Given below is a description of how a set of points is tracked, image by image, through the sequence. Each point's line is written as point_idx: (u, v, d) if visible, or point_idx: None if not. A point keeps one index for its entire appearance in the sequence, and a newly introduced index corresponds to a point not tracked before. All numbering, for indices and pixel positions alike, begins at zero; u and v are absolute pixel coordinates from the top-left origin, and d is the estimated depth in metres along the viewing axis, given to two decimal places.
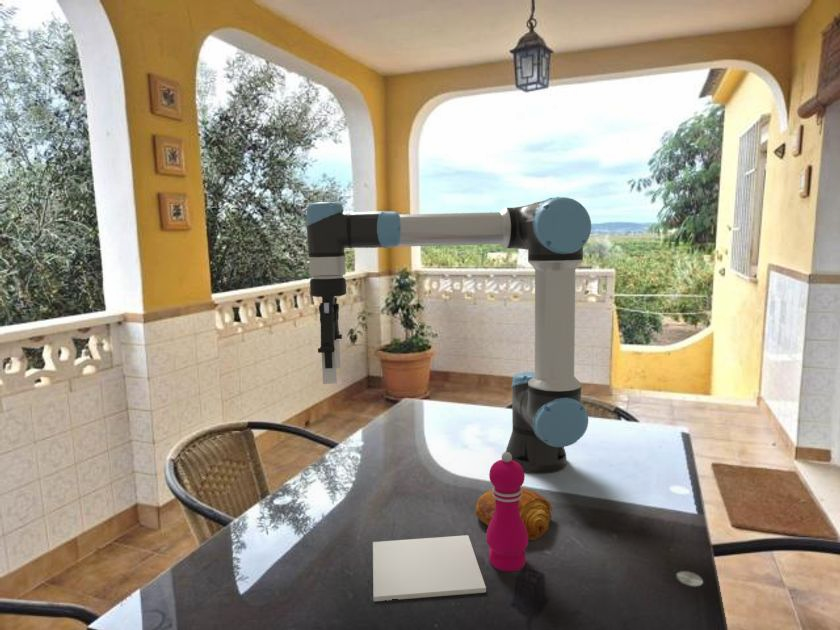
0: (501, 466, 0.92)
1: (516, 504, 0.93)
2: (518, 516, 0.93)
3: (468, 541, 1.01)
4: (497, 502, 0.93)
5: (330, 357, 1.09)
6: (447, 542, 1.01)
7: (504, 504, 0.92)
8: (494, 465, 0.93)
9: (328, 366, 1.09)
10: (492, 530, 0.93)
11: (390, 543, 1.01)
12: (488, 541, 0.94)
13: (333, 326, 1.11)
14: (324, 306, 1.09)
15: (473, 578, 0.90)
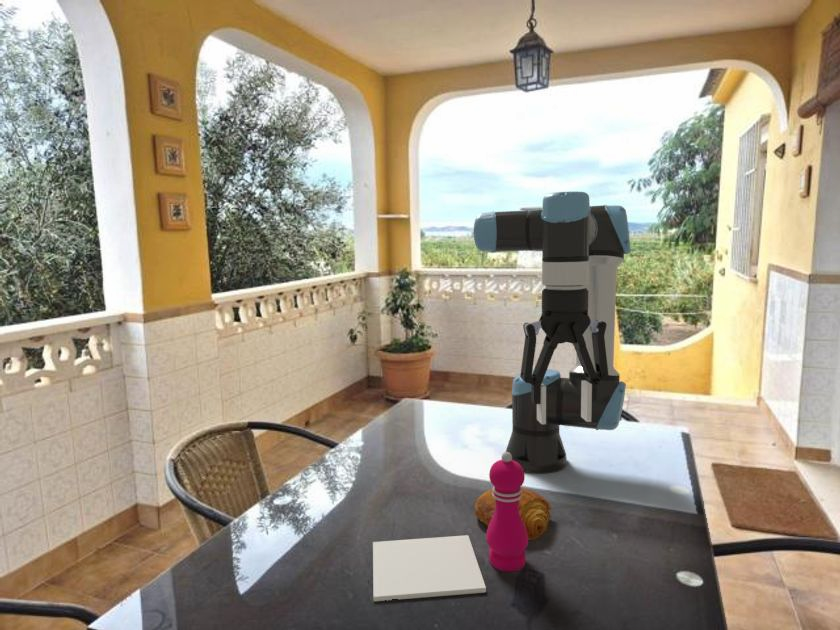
0: (501, 466, 0.92)
1: (516, 504, 0.93)
2: (518, 516, 0.93)
3: (468, 541, 1.01)
4: (497, 502, 0.93)
5: (533, 390, 0.92)
6: (447, 542, 1.01)
7: (504, 504, 0.92)
8: (494, 465, 0.93)
9: (532, 400, 0.92)
10: (492, 530, 0.93)
11: (390, 543, 1.01)
12: (488, 541, 0.94)
13: (545, 353, 0.90)
14: (524, 328, 0.91)
15: (473, 578, 0.90)
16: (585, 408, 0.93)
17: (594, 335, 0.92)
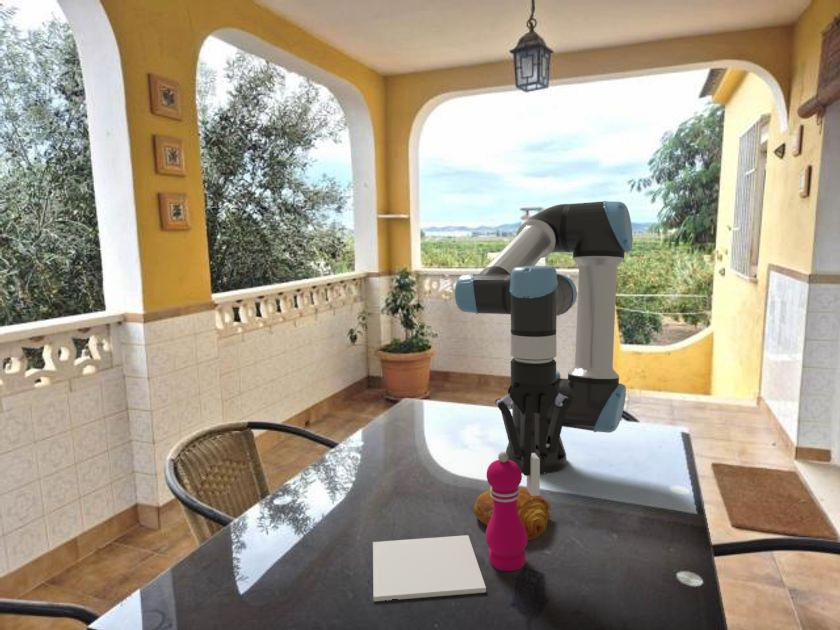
0: (497, 466, 0.92)
1: (514, 504, 0.93)
2: (516, 516, 0.93)
3: (468, 541, 1.01)
4: (495, 502, 0.93)
5: (523, 462, 0.93)
6: (447, 542, 1.01)
7: (502, 504, 0.92)
8: (491, 465, 0.93)
9: (522, 471, 0.94)
10: (491, 530, 0.93)
11: (390, 543, 1.01)
12: (487, 541, 0.94)
13: (524, 426, 0.91)
14: (497, 405, 0.92)
15: (473, 578, 0.90)
16: None
17: (556, 408, 0.93)
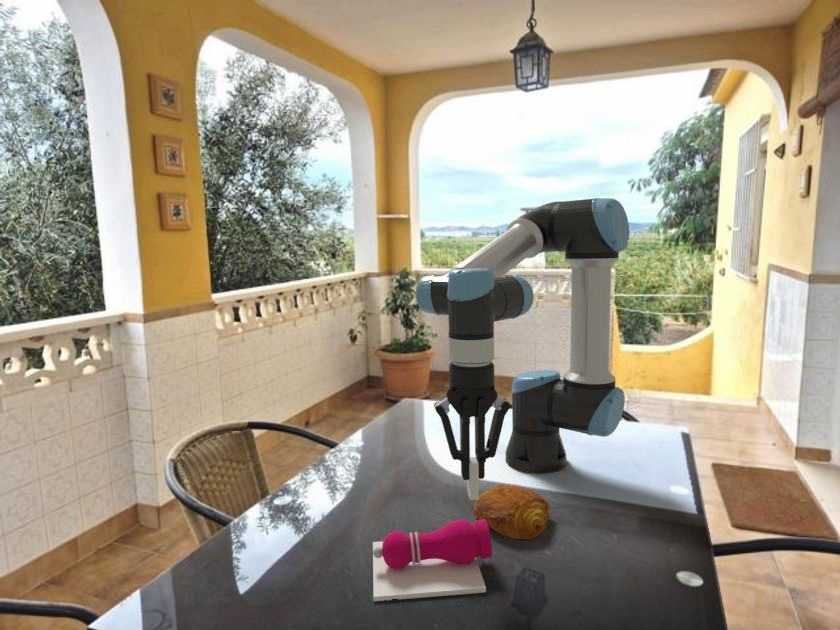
0: (385, 562, 0.92)
1: (424, 545, 0.92)
2: (437, 541, 0.92)
3: None
4: None
5: (462, 466, 0.92)
6: None
7: (423, 558, 0.92)
8: None
9: (462, 475, 0.93)
10: None
11: None
12: None
13: (462, 430, 0.91)
14: None
15: (473, 578, 0.90)
16: None
17: (496, 412, 0.92)
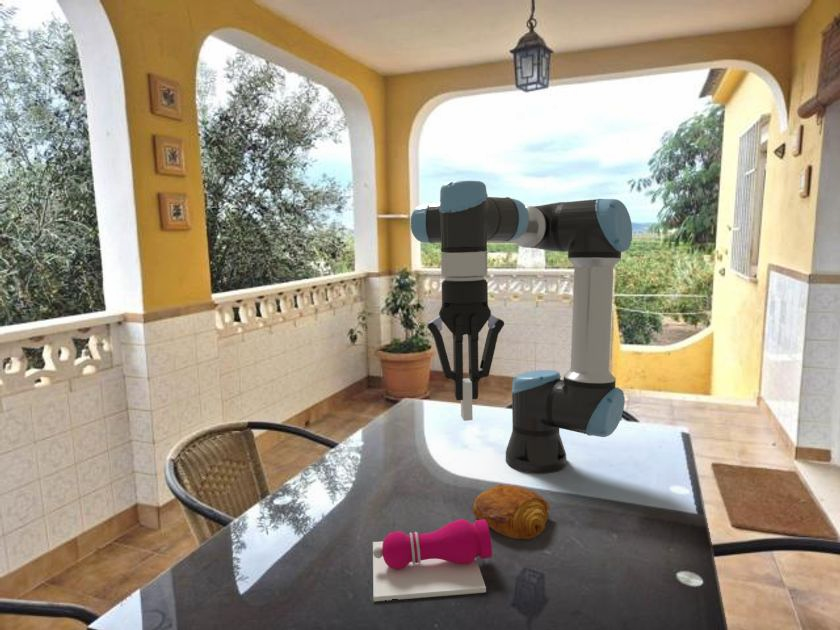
0: (385, 562, 0.92)
1: (424, 545, 0.92)
2: (437, 541, 0.92)
3: None
4: None
5: (455, 386, 0.91)
6: None
7: (423, 558, 0.92)
8: None
9: (455, 396, 0.91)
10: None
11: None
12: None
13: (455, 349, 0.89)
14: (428, 327, 0.90)
15: (473, 578, 0.90)
16: None
17: (489, 331, 0.90)
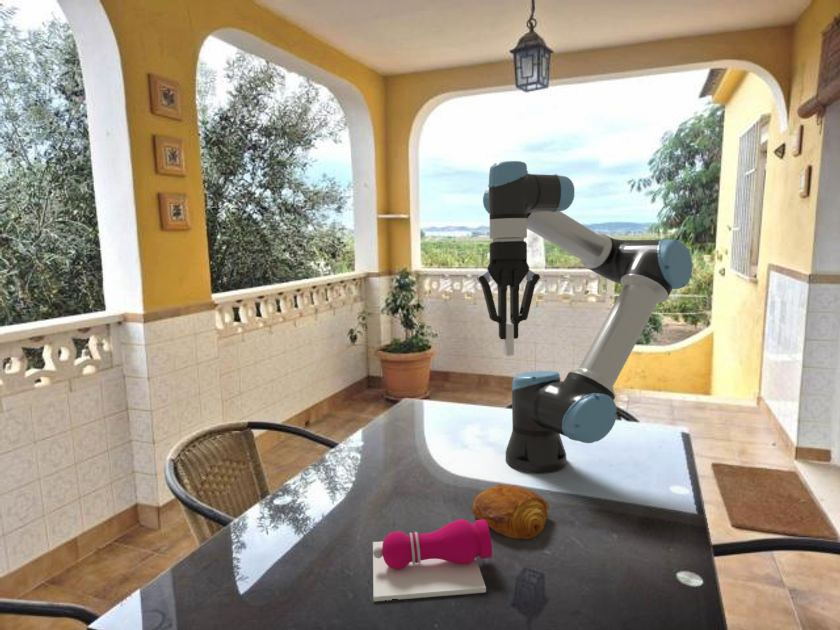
0: (385, 562, 0.92)
1: (424, 545, 0.92)
2: (437, 541, 0.92)
3: None
4: None
5: (500, 328, 1.12)
6: None
7: (423, 558, 0.92)
8: None
9: (499, 336, 1.13)
10: None
11: None
12: None
13: (500, 297, 1.11)
14: (478, 280, 1.12)
15: (473, 578, 0.90)
16: None
17: (528, 283, 1.12)
